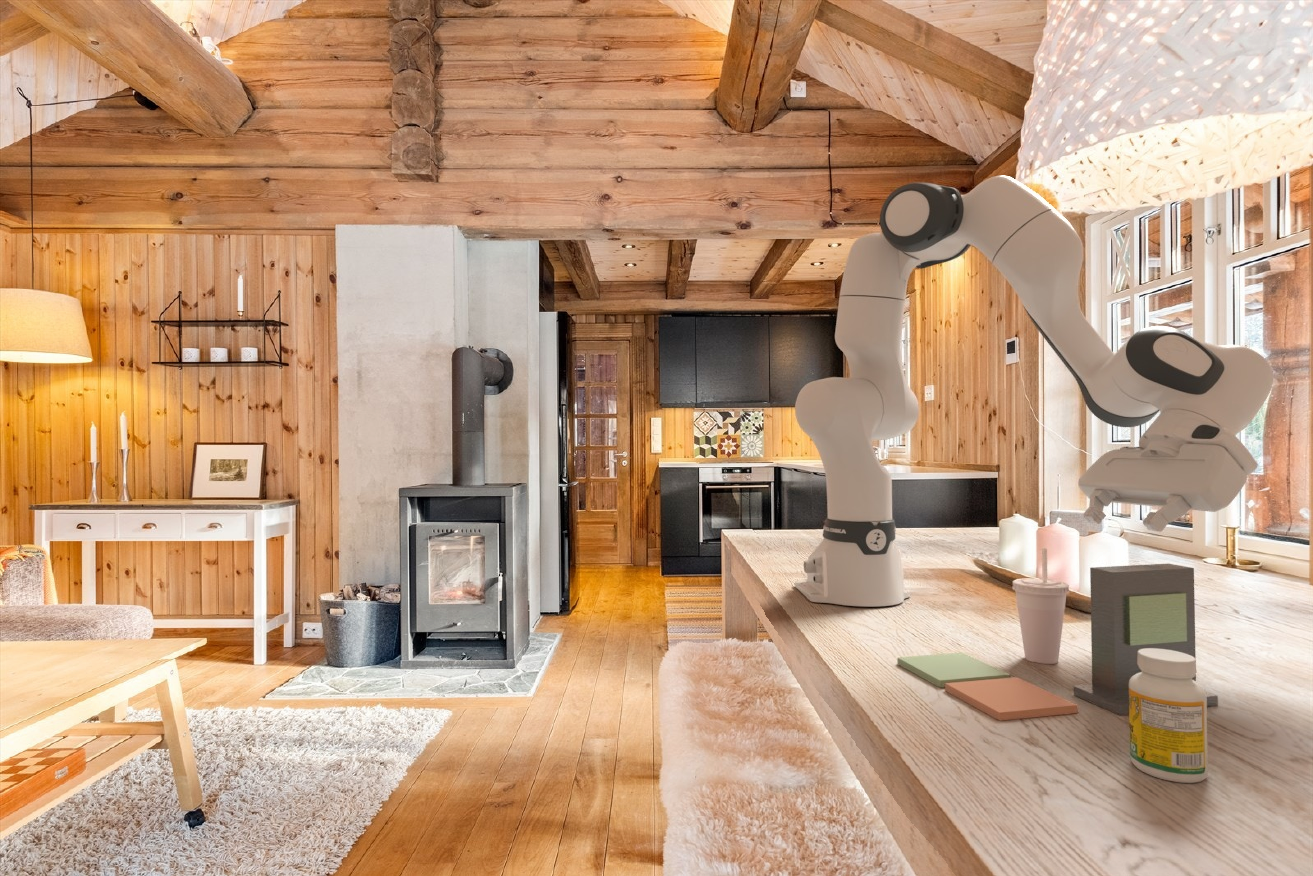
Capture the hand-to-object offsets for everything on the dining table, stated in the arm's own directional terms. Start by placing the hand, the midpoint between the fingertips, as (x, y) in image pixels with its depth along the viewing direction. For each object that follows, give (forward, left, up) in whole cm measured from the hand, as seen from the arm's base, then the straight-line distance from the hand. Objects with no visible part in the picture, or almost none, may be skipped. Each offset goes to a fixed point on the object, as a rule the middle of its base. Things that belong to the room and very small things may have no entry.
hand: (1119, 523), depth 94 cm
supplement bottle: (+29, -24, -17) cm, 41 cm away
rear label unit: (+15, -12, -17) cm, 26 cm away
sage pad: (+2, -26, -17) cm, 31 cm away
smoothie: (0, -12, -17) cm, 21 cm away
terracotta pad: (+12, -26, -17) cm, 33 cm away
